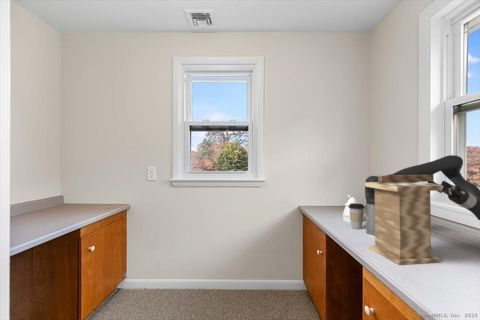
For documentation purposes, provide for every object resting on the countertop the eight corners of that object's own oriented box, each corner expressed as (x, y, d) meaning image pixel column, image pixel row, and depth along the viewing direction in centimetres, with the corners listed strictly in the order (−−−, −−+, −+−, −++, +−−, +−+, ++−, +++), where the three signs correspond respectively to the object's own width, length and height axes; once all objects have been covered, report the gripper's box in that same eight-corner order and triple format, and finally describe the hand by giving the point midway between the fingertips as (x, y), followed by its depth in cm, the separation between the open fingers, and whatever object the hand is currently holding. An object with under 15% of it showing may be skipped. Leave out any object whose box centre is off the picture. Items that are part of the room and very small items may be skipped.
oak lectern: (404, 246, 145) (403, 180, 145) (443, 263, 121) (442, 184, 121) (365, 248, 143) (365, 181, 143) (398, 265, 119) (397, 185, 119)
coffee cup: (364, 227, 187) (363, 203, 187) (365, 230, 178) (365, 205, 178) (348, 226, 190) (348, 202, 190) (348, 229, 181) (348, 205, 181)
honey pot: (344, 222, 201) (344, 196, 201) (341, 218, 214) (341, 194, 214) (364, 223, 199) (364, 196, 199) (360, 219, 212) (360, 194, 212)
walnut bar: (428, 180, 142) (428, 174, 142) (433, 181, 139) (433, 175, 139) (378, 182, 139) (378, 175, 139) (382, 182, 136) (381, 176, 136)
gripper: (453, 189, 150) (427, 174, 148) (479, 192, 136) (451, 175, 134) (446, 202, 149) (420, 187, 147) (472, 207, 135) (443, 190, 133)
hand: (435, 181), depth 141 cm, fingers open, 8 cm apart
